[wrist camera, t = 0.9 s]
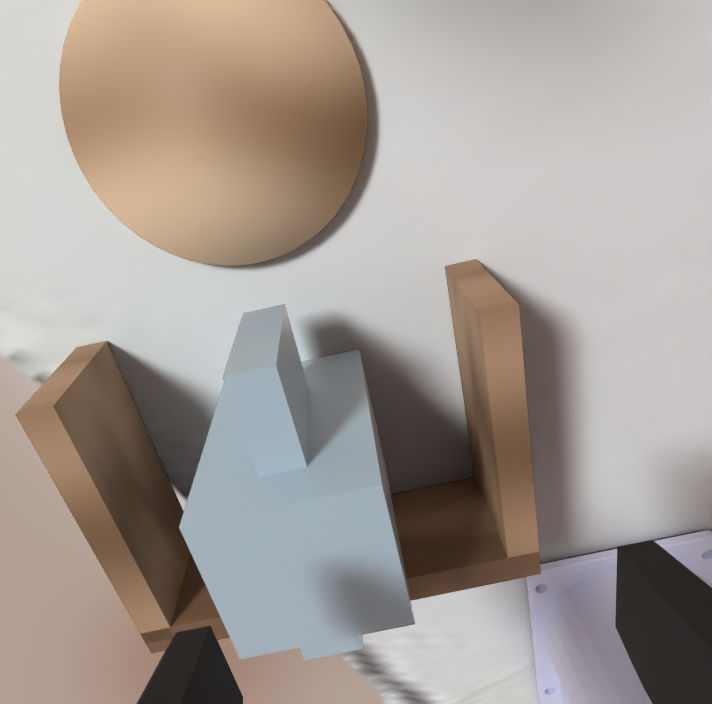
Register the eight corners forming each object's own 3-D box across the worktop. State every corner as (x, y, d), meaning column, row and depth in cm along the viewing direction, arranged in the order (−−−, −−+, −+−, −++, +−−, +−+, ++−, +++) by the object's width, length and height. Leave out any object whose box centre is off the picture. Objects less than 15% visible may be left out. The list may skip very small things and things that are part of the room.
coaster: (389, 229, 17) (391, 233, 16) (133, 287, 17) (130, 291, 17) (330, -96, 13) (331, -101, 13) (9, -18, 13) (1, -21, 13)
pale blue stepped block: (387, 475, 21) (419, 644, 14) (269, 500, 21) (249, 678, 15) (341, 270, 17) (356, 375, 11) (197, 301, 17) (130, 423, 11)
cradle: (502, 492, 21) (541, 573, 18) (178, 560, 22) (151, 653, 18) (476, 259, 17) (519, 304, 14) (75, 347, 18) (15, 414, 14)
